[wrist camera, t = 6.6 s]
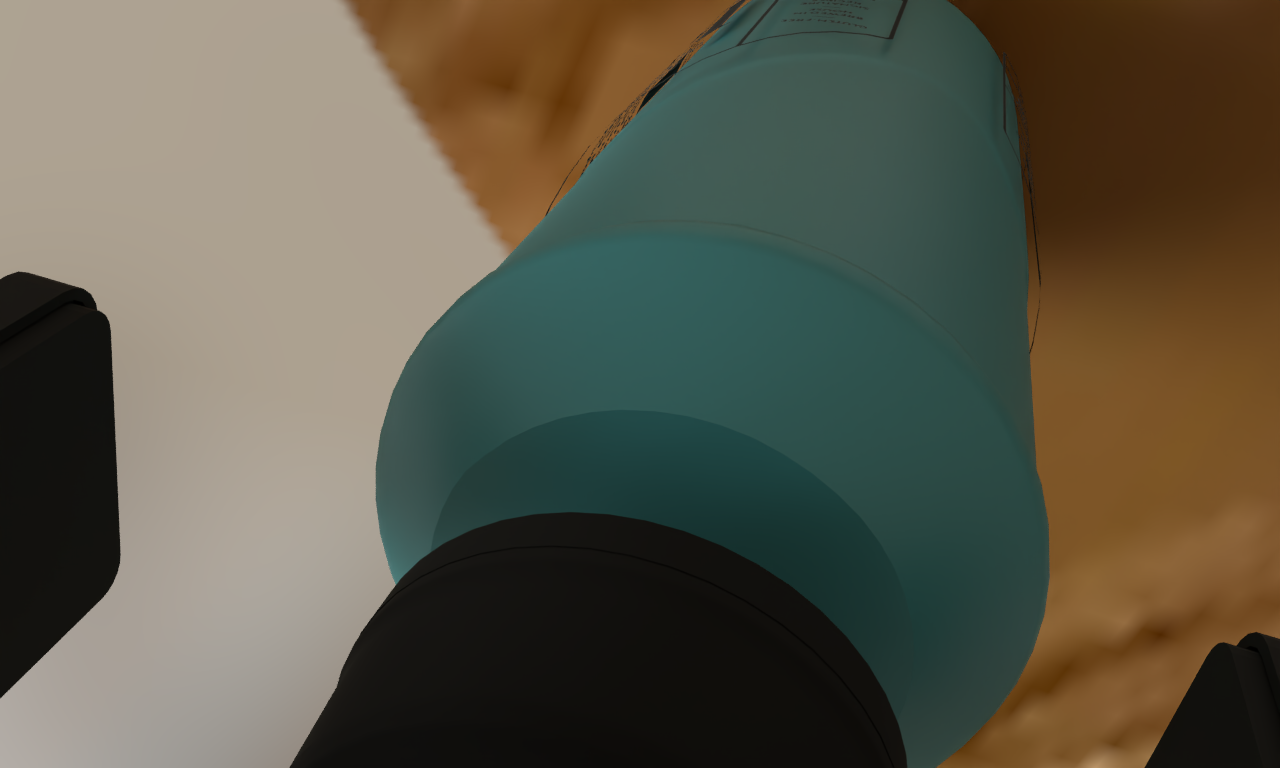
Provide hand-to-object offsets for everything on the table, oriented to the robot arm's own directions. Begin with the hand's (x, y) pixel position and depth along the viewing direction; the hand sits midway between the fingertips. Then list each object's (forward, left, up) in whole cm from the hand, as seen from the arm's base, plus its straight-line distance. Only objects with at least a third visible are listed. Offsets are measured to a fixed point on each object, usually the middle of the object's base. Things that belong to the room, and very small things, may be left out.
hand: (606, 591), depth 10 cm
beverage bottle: (0, 0, -17) cm, 17 cm away
